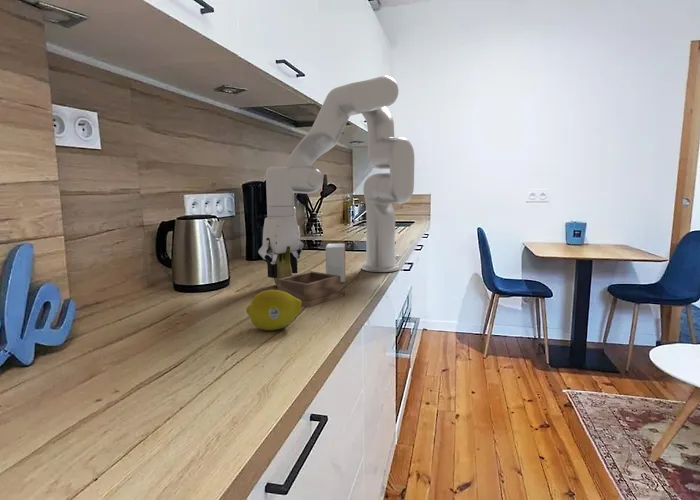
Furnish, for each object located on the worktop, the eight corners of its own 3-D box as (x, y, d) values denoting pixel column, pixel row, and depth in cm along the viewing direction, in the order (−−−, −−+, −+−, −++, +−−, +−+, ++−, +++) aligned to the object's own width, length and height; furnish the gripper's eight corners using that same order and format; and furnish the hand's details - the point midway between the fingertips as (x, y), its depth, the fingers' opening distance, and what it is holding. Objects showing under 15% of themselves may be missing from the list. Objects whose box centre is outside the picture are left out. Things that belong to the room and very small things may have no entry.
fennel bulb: (270, 285, 122) (269, 243, 120) (286, 282, 125) (284, 242, 123) (280, 289, 117) (279, 246, 115) (296, 286, 120) (294, 244, 118)
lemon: (242, 335, 82) (240, 295, 81) (253, 322, 90) (251, 285, 88) (298, 336, 81) (297, 295, 80) (304, 322, 89) (303, 285, 88)
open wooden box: (311, 287, 118) (310, 270, 118) (345, 294, 111) (344, 275, 110) (273, 298, 108) (272, 279, 107) (308, 307, 100) (307, 286, 99)
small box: (344, 282, 124) (344, 247, 123) (325, 282, 124) (325, 247, 123) (345, 276, 132) (345, 243, 131) (327, 276, 132) (327, 243, 131)
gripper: (293, 210, 127) (295, 268, 129) (247, 213, 113) (249, 279, 116) (312, 211, 122) (313, 271, 125) (265, 214, 109) (268, 282, 111)
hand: (282, 274), depth 120 cm, fingers open, 7 cm apart
